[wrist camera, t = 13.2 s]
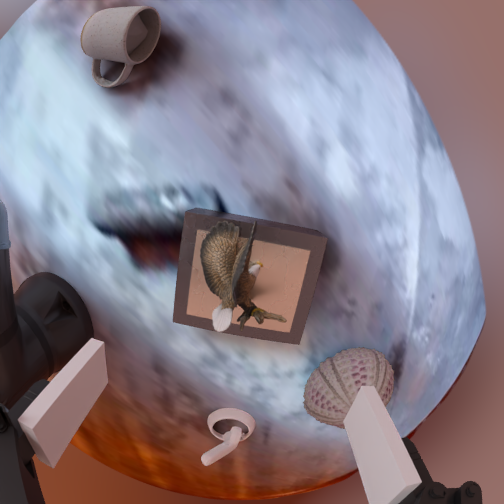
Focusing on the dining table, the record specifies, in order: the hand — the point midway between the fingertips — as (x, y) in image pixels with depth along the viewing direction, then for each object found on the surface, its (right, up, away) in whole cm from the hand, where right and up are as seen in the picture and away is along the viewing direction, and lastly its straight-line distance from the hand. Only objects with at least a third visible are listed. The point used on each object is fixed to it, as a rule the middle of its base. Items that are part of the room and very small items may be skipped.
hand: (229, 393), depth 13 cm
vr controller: (-2, -20, +27) cm, 34 cm away
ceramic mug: (-15, +32, +15) cm, 39 cm away
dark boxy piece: (+1, +5, +21) cm, 21 cm away
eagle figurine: (0, +5, +15) cm, 16 cm away
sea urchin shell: (+15, -12, +25) cm, 31 cm away
